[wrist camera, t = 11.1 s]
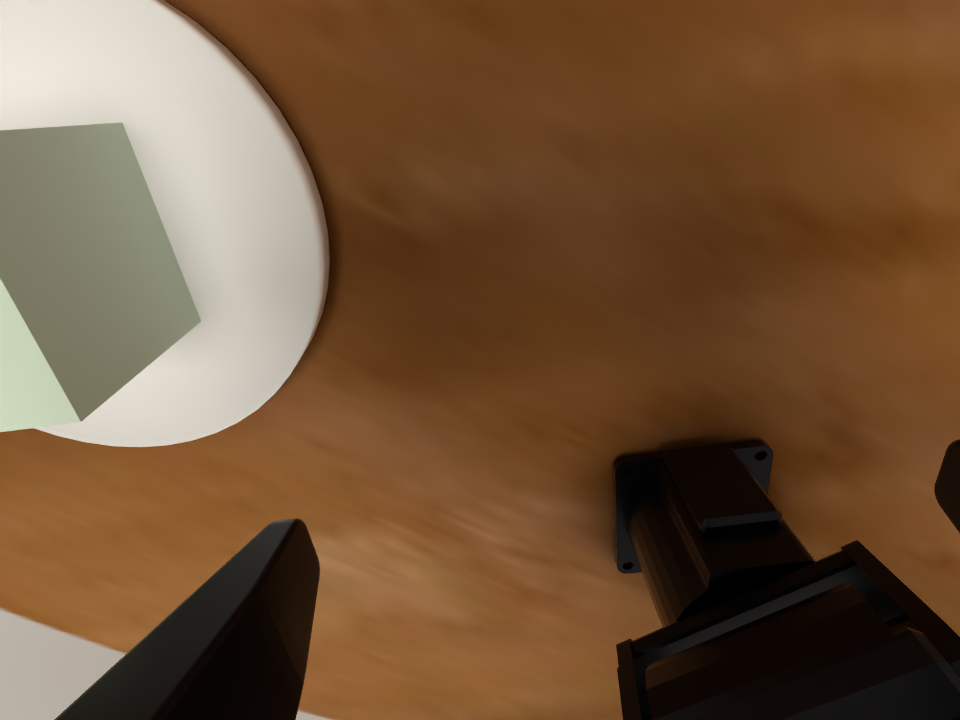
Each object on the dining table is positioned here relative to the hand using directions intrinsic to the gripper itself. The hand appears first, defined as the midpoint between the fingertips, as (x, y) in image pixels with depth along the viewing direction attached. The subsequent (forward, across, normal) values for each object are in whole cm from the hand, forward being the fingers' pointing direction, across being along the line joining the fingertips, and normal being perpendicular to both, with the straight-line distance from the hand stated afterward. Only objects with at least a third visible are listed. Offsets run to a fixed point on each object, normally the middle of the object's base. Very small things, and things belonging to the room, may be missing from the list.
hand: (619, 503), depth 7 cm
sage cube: (+10, +14, -3) cm, 18 cm away
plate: (+12, +14, -3) cm, 19 cm away
